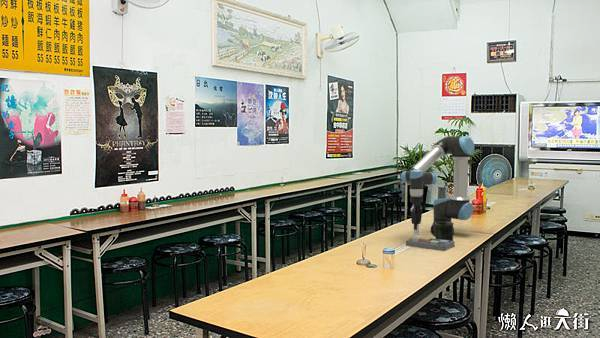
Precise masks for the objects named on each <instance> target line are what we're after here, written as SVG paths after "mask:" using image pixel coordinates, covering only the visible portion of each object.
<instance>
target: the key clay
mask: <svg viewBox="0 0 600 338" xmlns="http://www.w3.org/2000/svg"><path fill="white" fill-rule="evenodd" d="M422 237H423V236H422ZM431 238H432V237H425V236H424V237H423V238H421V239H420V241H421V242H423V243H426V242H428V241H431Z"/></svg>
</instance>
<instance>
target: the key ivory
mask: <svg viewBox="0 0 600 338" xmlns="http://www.w3.org/2000/svg"><path fill="white" fill-rule="evenodd" d="M422 237H423V236H418V235H414V236H412V237H411V239H412V241H419V240H420V239H421V238H422Z"/></svg>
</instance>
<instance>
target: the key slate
mask: <svg viewBox="0 0 600 338" xmlns="http://www.w3.org/2000/svg"><path fill="white" fill-rule="evenodd" d="M448 243H449V240H440V241H439V245H445V244H448Z"/></svg>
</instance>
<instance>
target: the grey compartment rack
mask: <svg viewBox="0 0 600 338" xmlns="http://www.w3.org/2000/svg"><path fill="white" fill-rule="evenodd" d="M421 237H422V238H423V236H421ZM430 238H431V241H432V240H435V241H440V239H436V238H432V237H430ZM405 245H406V247H414V248H422V249H427V250H434V251H442V252H445V251H448V250H449V249H452V248H454V247H455V241H454V240H453V241H449V243H448V244H445V245H439V242H438V243H436V244H431V243H430V241H428V242H426V243H423V242H421V241H420V240H419V241H412V238H410V239H409V238H408V239H407V240H405Z"/></svg>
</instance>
